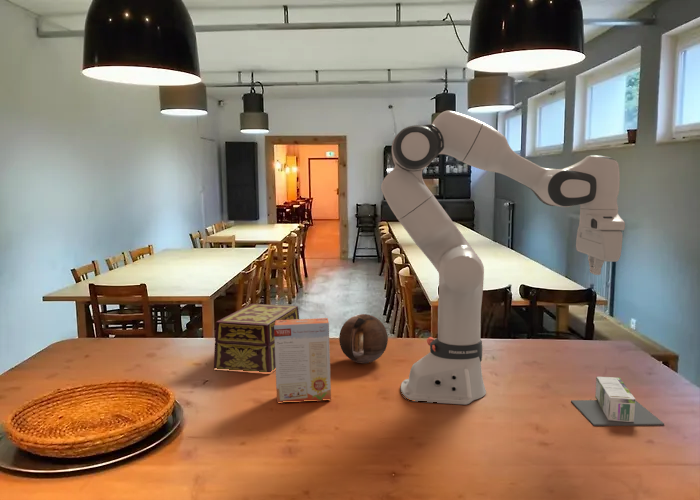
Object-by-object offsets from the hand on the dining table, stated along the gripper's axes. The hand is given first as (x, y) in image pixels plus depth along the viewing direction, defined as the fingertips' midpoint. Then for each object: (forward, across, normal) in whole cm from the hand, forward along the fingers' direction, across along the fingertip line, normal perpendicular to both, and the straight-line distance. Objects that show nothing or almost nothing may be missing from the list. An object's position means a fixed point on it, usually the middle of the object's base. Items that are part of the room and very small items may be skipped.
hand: (595, 273), depth 147 cm
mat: (+32, +14, +1) cm, 34 cm away
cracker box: (+33, +4, -75) cm, 82 cm away
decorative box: (+34, -29, -93) cm, 103 cm away
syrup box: (+28, +5, +3) cm, 29 cm away
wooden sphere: (+33, -25, -60) cm, 72 cm away
